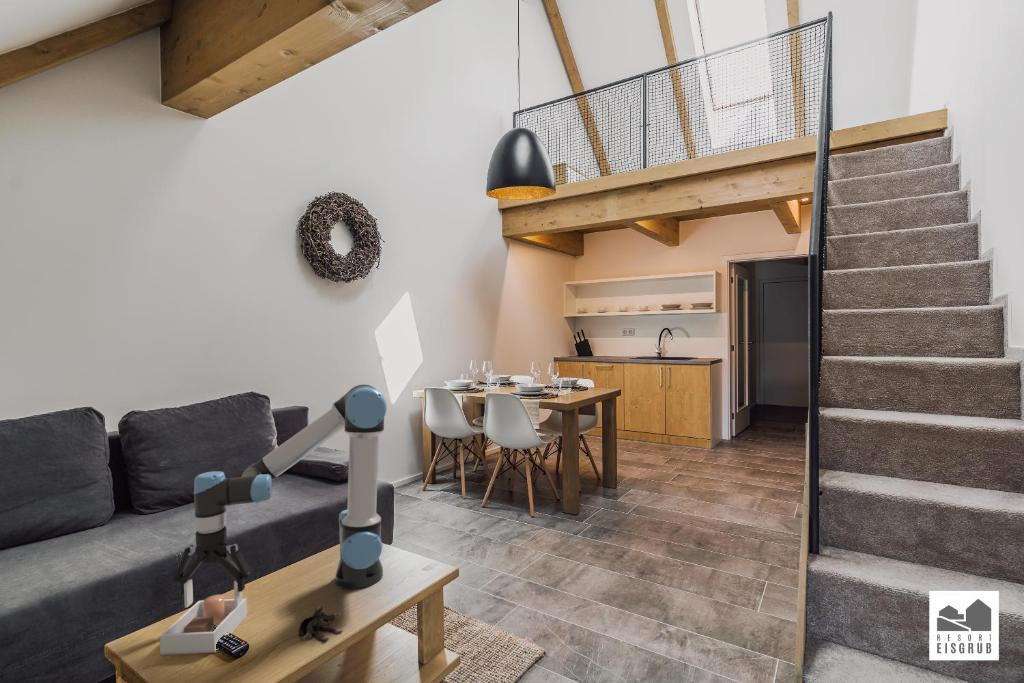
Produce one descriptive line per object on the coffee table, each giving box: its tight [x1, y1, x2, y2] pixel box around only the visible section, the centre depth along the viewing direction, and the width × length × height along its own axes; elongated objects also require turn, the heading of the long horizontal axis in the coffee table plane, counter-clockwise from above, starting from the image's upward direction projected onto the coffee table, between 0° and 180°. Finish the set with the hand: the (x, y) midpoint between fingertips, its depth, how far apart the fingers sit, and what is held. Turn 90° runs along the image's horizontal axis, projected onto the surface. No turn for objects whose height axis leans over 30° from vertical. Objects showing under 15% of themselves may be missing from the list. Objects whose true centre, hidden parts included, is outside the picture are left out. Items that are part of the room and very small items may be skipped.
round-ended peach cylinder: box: [203, 594, 225, 625], centre depth 145 cm, size 5×5×7 cm
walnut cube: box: [184, 616, 214, 633], centre depth 136 cm, size 5×5×5 cm
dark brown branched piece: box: [298, 606, 343, 642], centre depth 142 cm, size 12×10×12 cm
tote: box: [159, 597, 248, 656], centre depth 140 cm, size 14×18×5 cm
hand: (213, 603), depth 144 cm, fingers open, 13 cm apart
